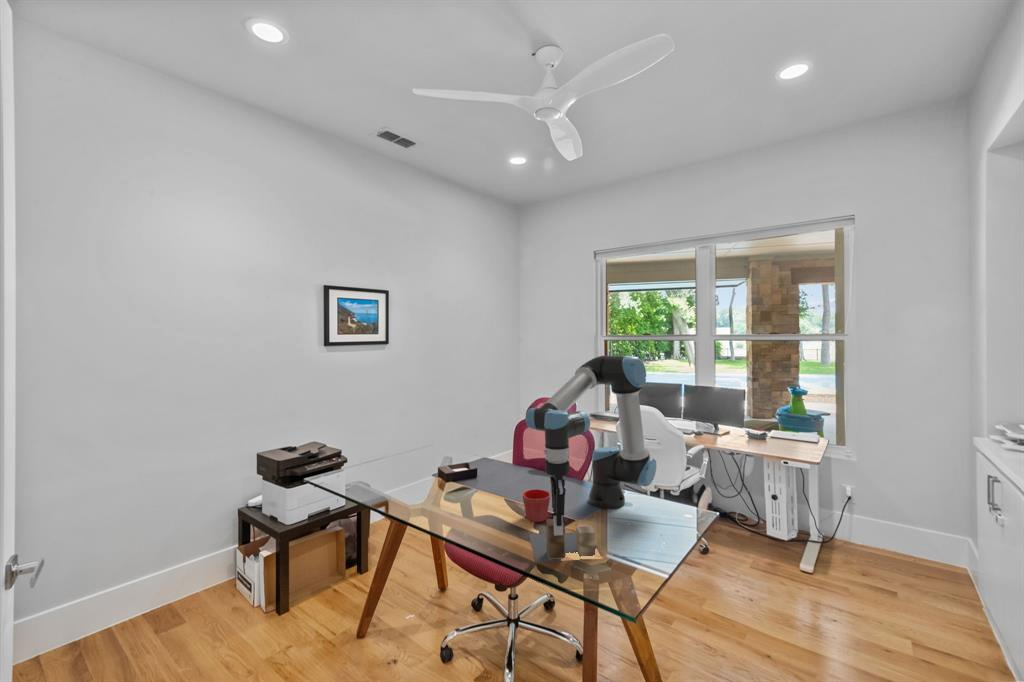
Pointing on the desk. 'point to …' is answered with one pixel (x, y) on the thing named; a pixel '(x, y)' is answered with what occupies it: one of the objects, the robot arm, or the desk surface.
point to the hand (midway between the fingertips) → (558, 534)
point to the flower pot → (536, 504)
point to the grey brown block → (554, 542)
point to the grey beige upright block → (585, 541)
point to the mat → (541, 546)
